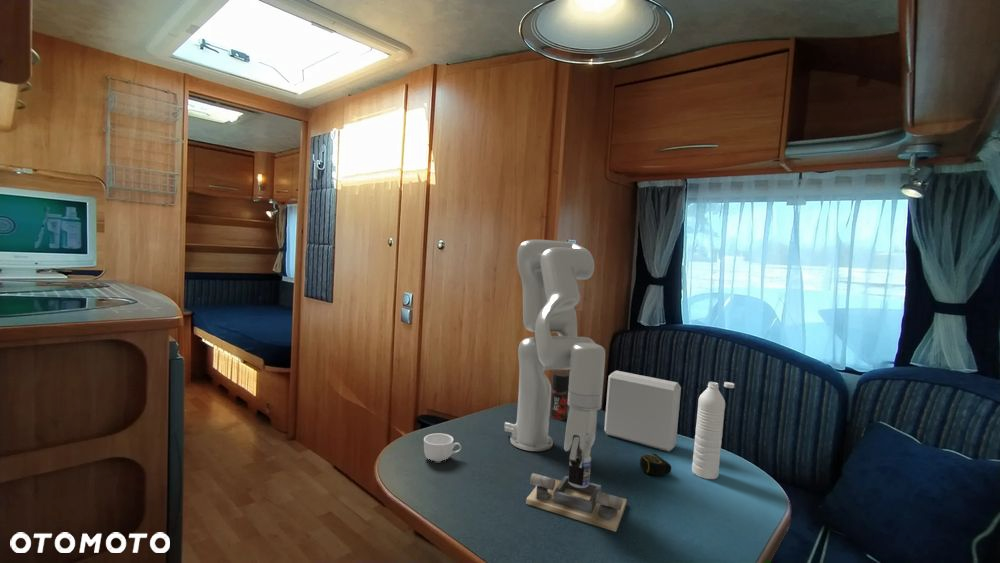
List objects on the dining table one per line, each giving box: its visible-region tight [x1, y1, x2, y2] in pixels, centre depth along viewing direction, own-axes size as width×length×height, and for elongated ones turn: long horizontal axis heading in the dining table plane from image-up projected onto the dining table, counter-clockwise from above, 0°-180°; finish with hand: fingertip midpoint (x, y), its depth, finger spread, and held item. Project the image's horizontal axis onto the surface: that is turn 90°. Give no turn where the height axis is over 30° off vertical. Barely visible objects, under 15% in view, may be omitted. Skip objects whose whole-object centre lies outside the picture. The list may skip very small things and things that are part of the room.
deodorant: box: [549, 371, 570, 421], centre depth 159 cm, size 6×6×15 cm
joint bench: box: [525, 472, 627, 533], centre depth 104 cm, size 20×12×6 cm, turn 65°
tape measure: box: [639, 453, 672, 477], centre depth 122 cm, size 7×7×4 cm
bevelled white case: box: [603, 370, 682, 452], centre depth 142 cm, size 21×8×20 cm, turn 58°
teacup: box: [423, 432, 462, 461], centre depth 122 cm, size 10×8×5 cm
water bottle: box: [691, 381, 735, 480], centre depth 122 cm, size 9×6×25 cm
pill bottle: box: [568, 449, 592, 488], centre depth 103 cm, size 5×5×8 cm
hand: (579, 477), depth 103 cm, fingers closed on pill bottle, 4 cm apart
